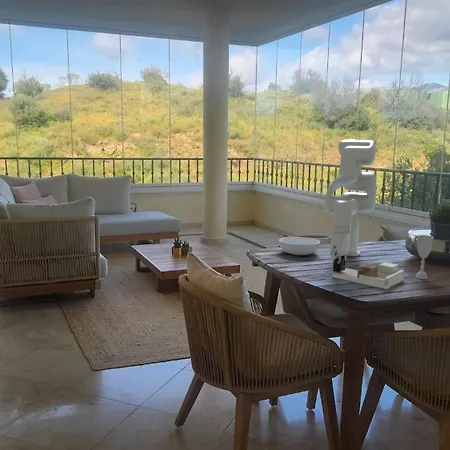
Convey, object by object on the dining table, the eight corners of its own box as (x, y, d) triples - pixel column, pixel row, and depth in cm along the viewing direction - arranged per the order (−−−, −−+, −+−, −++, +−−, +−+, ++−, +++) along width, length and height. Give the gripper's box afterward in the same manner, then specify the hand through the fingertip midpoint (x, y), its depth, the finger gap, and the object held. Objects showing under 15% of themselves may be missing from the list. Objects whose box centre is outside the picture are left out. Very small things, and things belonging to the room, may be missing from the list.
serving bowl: (328, 255, 254) (328, 241, 253) (299, 260, 241) (300, 246, 240) (297, 247, 270) (298, 234, 269) (270, 252, 257) (270, 239, 256)
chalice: (421, 280, 211) (425, 238, 208) (409, 276, 217) (412, 235, 214) (433, 278, 215) (437, 237, 211) (421, 274, 221) (424, 234, 217)
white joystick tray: (332, 277, 213) (333, 261, 212) (350, 269, 226) (351, 255, 225) (386, 289, 198) (388, 272, 197) (403, 280, 211) (404, 264, 209)
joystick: (331, 272, 215) (332, 259, 214) (338, 269, 219) (339, 256, 218) (371, 280, 203) (372, 266, 202) (377, 277, 208) (378, 264, 207)
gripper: (342, 225, 221) (340, 265, 224) (324, 230, 209) (321, 273, 212) (358, 227, 216) (355, 268, 220) (340, 233, 204) (337, 276, 207)
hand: (339, 270), depth 216 cm, fingers closed on joystick, 3 cm apart
